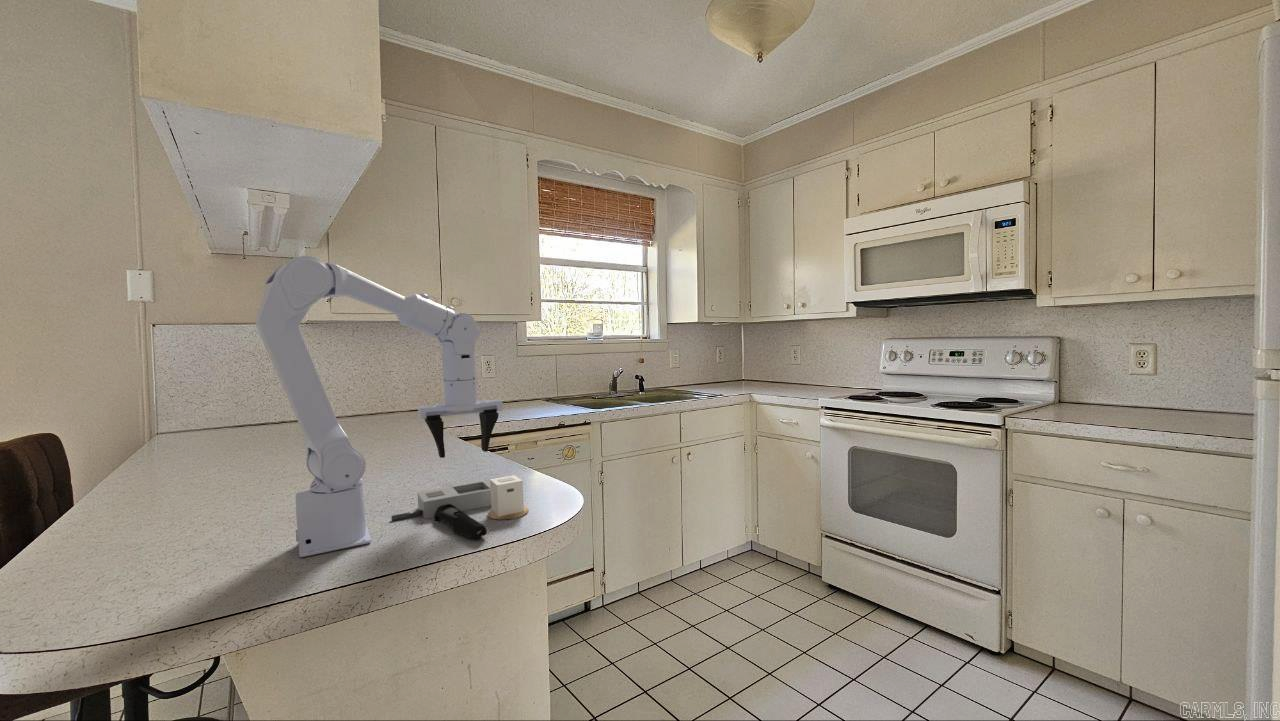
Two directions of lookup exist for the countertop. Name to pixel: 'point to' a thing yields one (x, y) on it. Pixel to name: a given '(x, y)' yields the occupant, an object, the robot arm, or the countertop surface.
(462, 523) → the electric trimmer
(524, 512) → the coaster
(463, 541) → the countertop surface
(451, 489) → the power strip
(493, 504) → the box
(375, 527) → the countertop surface
